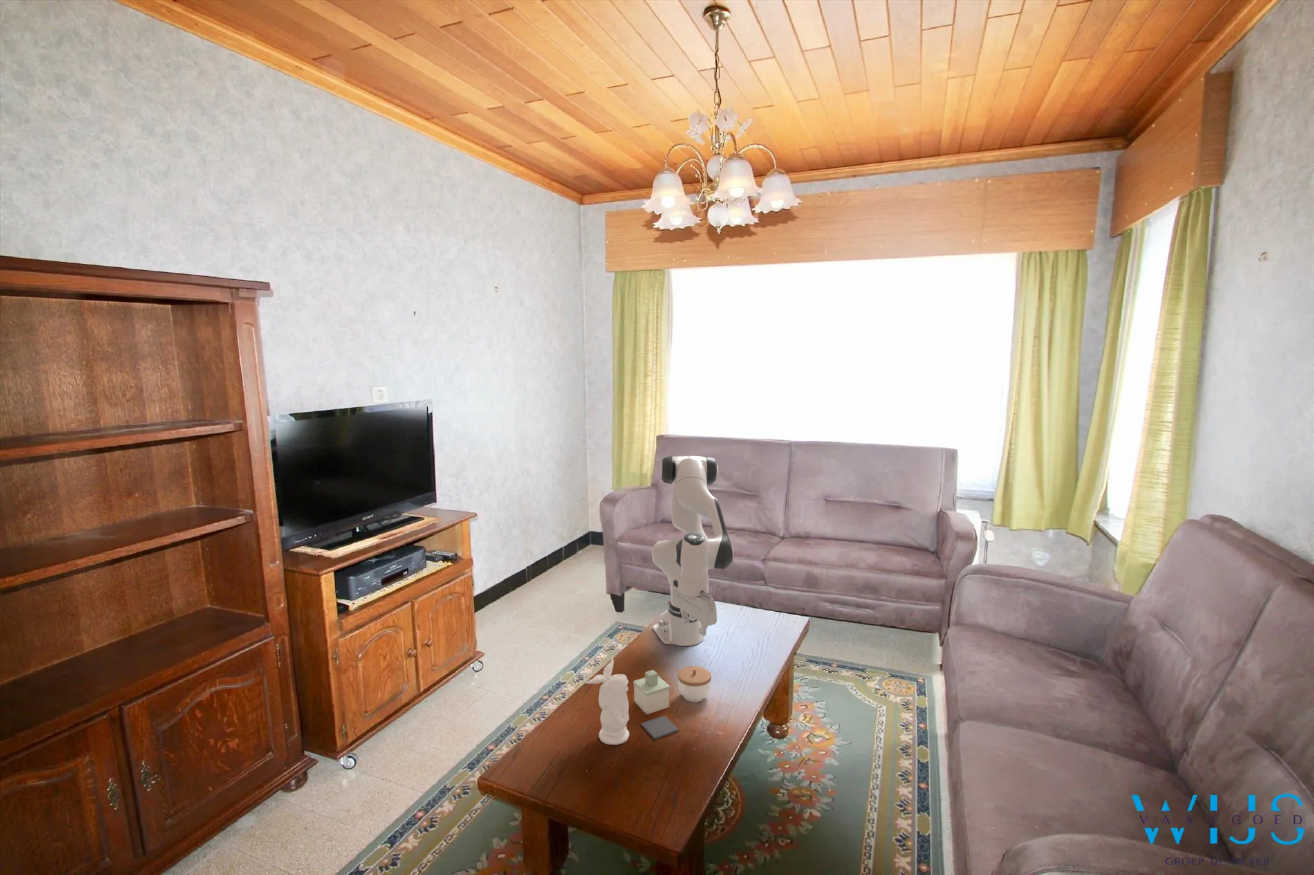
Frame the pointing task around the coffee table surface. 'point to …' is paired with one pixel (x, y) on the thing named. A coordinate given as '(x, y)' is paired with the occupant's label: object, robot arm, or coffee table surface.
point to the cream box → (651, 701)
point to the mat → (659, 727)
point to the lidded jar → (694, 683)
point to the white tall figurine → (613, 705)
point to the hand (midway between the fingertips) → (694, 628)
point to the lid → (651, 684)
